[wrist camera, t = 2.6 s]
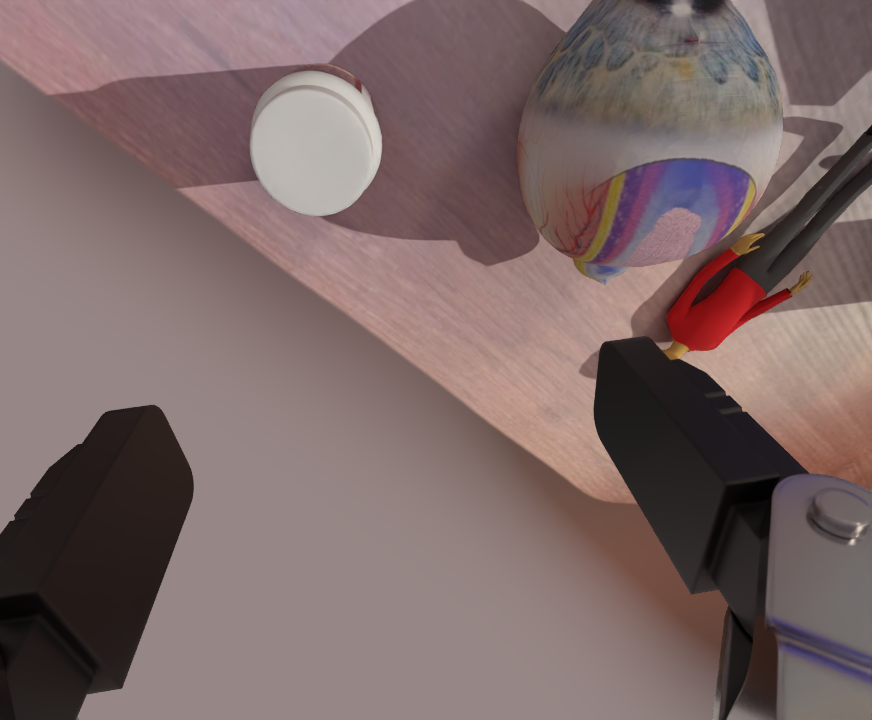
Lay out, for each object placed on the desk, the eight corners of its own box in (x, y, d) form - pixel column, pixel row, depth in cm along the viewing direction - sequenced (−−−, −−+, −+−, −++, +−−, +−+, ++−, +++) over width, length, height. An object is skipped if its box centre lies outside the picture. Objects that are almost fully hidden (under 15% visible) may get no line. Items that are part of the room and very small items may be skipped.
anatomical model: (737, 19, 24) (943, 8, 15) (625, 267, 30) (728, 357, 21) (541, -48, 21) (655, -105, 13) (464, 235, 27) (508, 320, 19)
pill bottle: (251, 111, 23) (202, 144, 16) (329, 37, 22) (312, 37, 15) (325, 194, 26) (310, 254, 18) (398, 131, 24) (412, 169, 17)
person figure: (966, 181, 24) (676, 427, 31) (906, 179, 28) (658, 399, 35) (896, 110, 24) (615, 376, 30) (844, 117, 27) (603, 354, 34)
